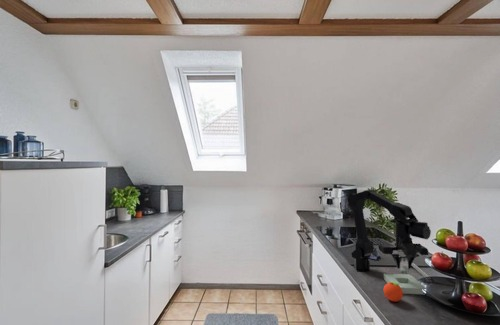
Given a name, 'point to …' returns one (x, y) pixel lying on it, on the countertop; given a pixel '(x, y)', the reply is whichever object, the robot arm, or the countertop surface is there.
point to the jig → (405, 283)
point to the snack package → (376, 253)
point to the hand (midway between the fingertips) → (403, 268)
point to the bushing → (403, 264)
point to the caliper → (419, 270)
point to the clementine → (393, 291)
